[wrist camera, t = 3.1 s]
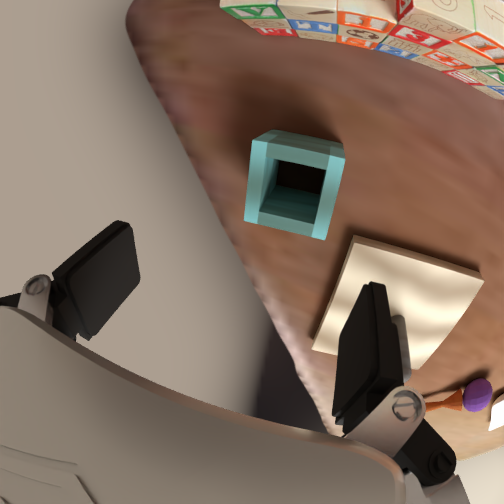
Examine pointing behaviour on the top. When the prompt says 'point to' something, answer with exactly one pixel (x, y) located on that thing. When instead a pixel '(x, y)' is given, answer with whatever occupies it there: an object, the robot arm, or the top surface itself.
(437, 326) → the cream peg stand
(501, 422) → the salad plate
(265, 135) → the open box
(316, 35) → the stack of blocks
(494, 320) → the top surface
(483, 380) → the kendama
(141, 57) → the top surface
